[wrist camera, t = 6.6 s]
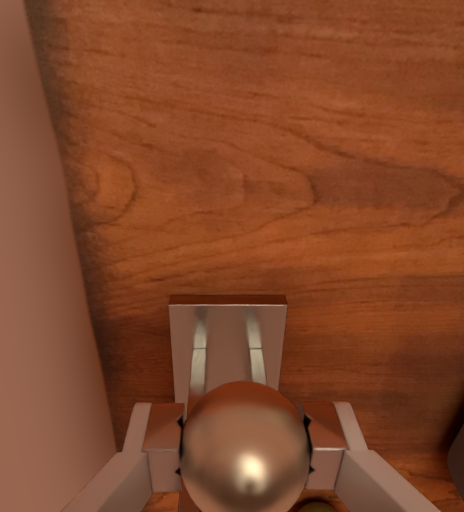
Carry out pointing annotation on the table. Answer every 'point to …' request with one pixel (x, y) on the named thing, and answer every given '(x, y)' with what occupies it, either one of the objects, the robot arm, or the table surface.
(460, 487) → the alarm clock
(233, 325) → the bracket
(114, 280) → the table surface
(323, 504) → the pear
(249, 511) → the lever
